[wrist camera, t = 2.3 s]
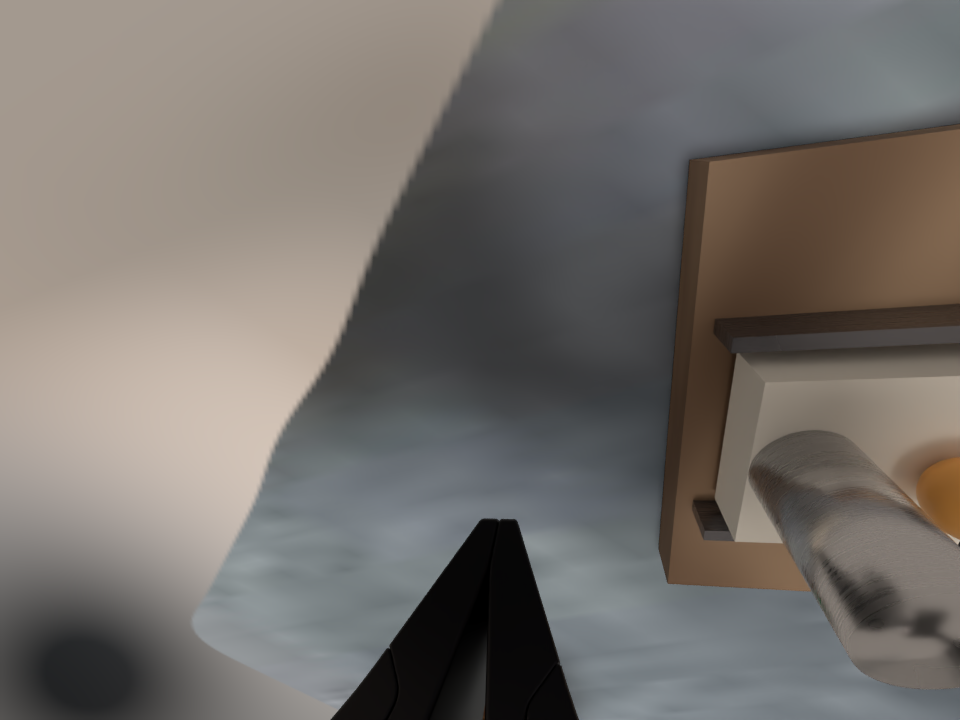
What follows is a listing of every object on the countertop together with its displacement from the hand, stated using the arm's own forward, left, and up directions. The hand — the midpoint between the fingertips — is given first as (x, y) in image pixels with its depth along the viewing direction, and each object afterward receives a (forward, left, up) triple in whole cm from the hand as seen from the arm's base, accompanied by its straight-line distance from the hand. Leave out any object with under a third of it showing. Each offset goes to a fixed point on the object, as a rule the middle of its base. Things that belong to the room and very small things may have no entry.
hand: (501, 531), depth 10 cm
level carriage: (-8, 0, -4) cm, 9 cm away
